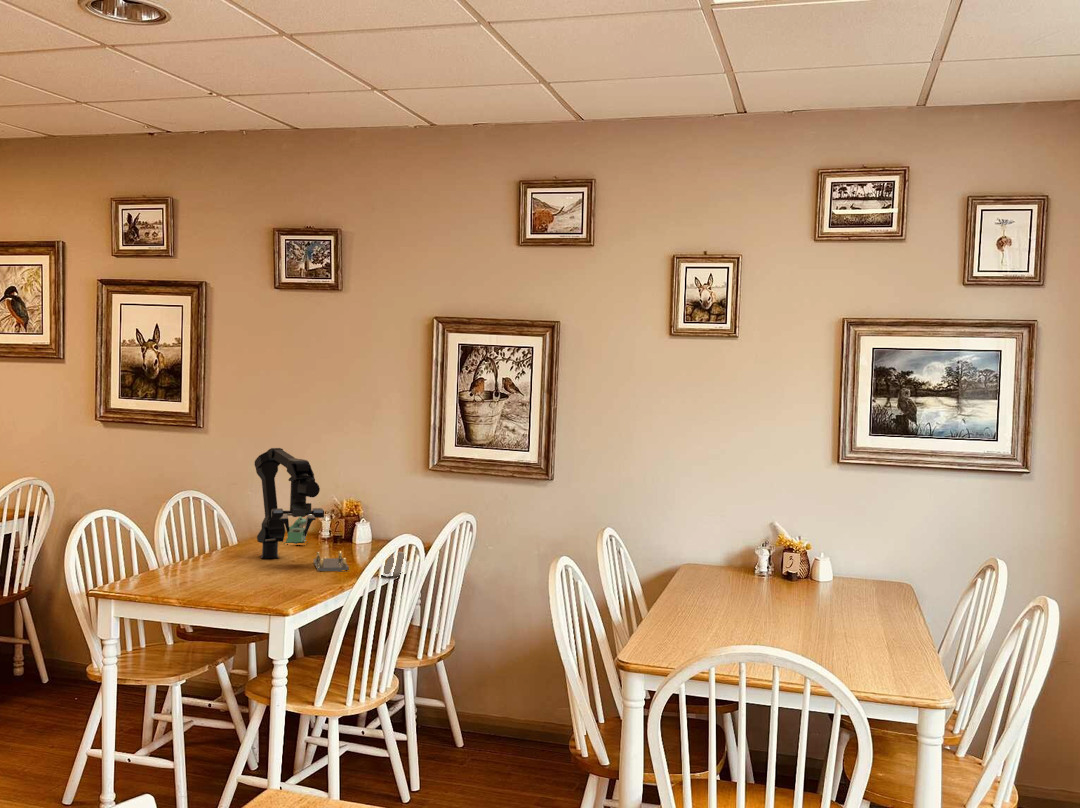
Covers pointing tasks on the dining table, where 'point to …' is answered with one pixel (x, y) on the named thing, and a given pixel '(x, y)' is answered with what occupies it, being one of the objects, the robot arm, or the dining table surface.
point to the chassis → (331, 563)
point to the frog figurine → (297, 524)
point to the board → (296, 535)
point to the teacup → (390, 562)
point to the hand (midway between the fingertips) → (297, 536)
